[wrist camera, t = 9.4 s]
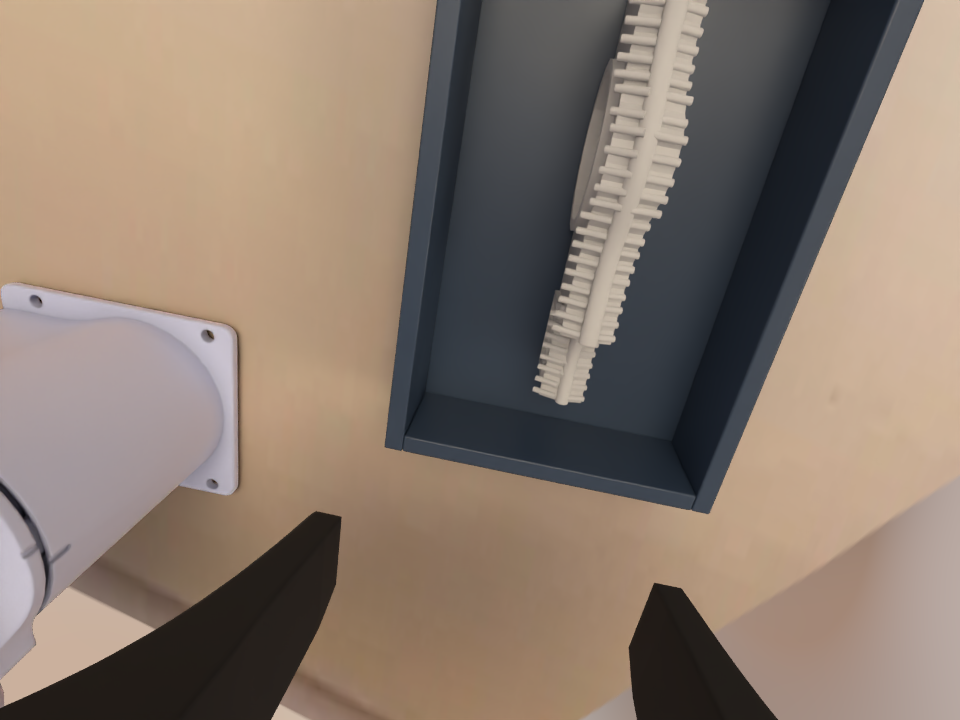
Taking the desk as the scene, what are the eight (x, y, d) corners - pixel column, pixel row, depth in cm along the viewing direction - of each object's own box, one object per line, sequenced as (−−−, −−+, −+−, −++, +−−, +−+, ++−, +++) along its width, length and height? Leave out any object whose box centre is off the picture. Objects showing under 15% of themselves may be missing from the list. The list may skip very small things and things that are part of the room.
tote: (411, 395, 21) (383, 447, 17) (485, -154, 14) (467, -261, 11) (678, 450, 21) (709, 515, 17) (878, -89, 14) (999, -176, 10)
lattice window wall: (578, 371, 19) (595, 458, 14) (531, 362, 19) (528, 444, 14) (681, -12, 15) (766, -111, 9) (618, -23, 15) (665, -127, 9)
